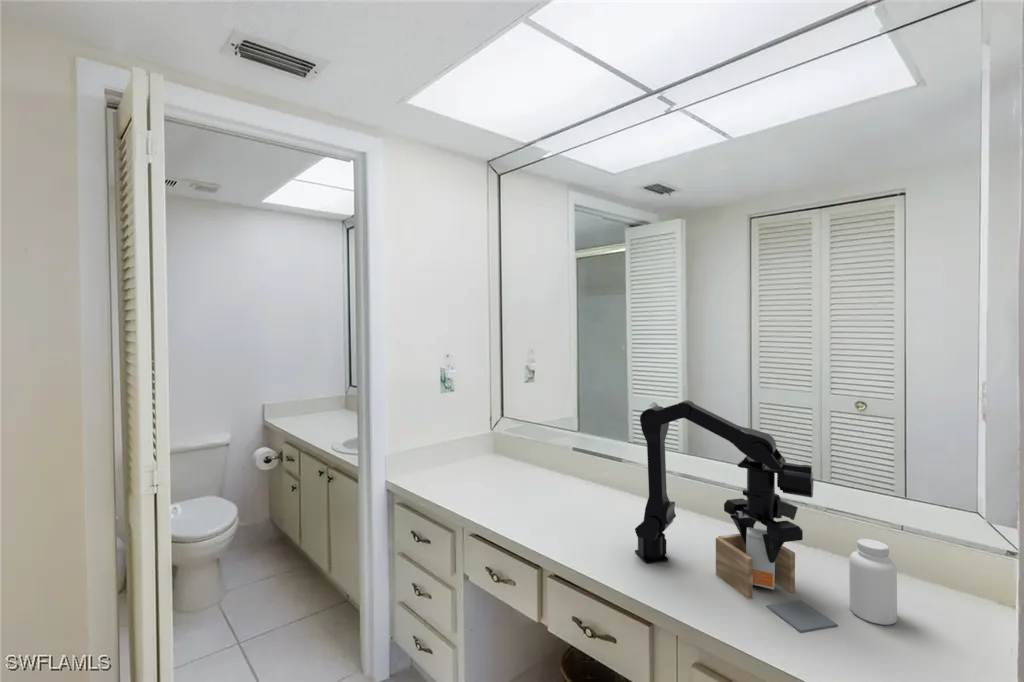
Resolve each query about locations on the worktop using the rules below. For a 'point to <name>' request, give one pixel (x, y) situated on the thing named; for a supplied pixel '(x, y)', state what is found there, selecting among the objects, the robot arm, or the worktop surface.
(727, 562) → the oak bay
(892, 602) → the pill bottle
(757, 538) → the skincare box
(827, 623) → the slate pad
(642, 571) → the worktop surface
